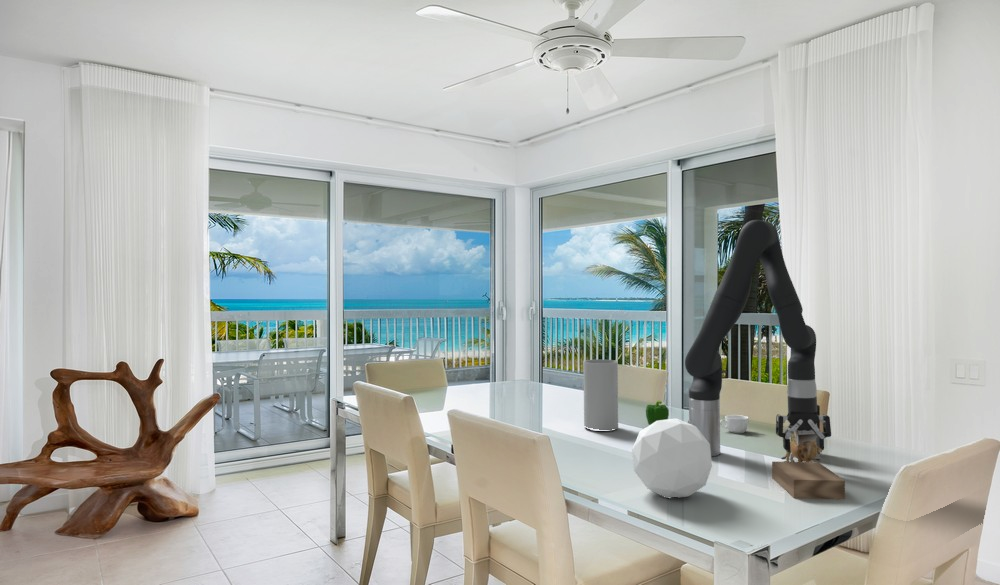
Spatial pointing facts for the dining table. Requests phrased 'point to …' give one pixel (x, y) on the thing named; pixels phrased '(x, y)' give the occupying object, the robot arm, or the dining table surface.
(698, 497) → the dining table surface
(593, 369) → the cylinder vase
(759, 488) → the dining table surface
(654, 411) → the bell pepper
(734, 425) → the teacup
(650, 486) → the ball
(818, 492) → the walnut block
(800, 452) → the lion figurine
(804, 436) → the coffee box
